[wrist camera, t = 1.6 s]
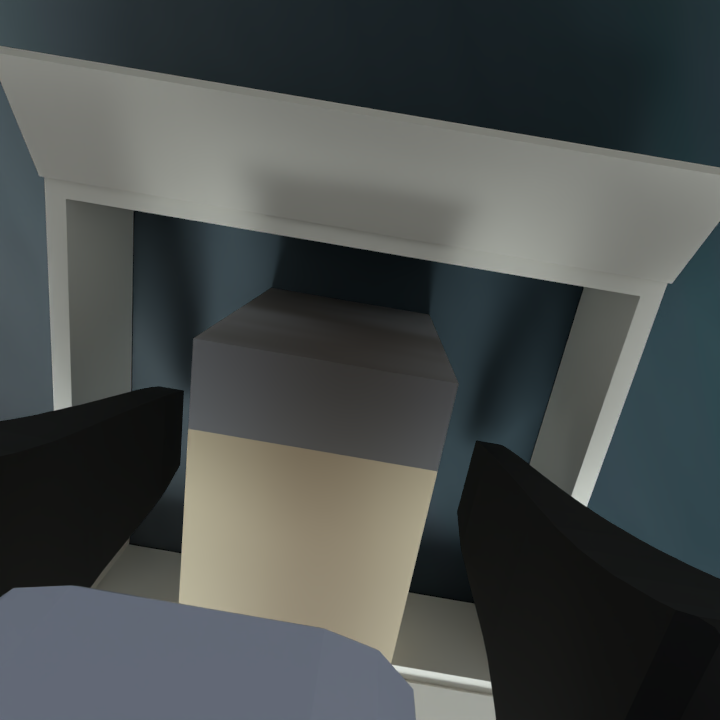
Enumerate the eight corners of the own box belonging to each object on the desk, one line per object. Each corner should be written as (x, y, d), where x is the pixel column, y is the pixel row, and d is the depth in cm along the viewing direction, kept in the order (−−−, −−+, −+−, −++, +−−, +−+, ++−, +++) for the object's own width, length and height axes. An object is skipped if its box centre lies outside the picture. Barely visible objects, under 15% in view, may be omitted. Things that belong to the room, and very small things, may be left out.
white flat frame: (115, 599, 15) (34, 715, 11) (117, 97, 11) (-13, 40, 7) (481, 662, 15) (510, 797, 11) (634, 184, 11) (754, 170, 7)
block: (247, 521, 14) (174, 682, 9) (271, 287, 12) (193, 338, 7) (381, 544, 14) (378, 717, 9) (429, 314, 12) (459, 383, 7)
